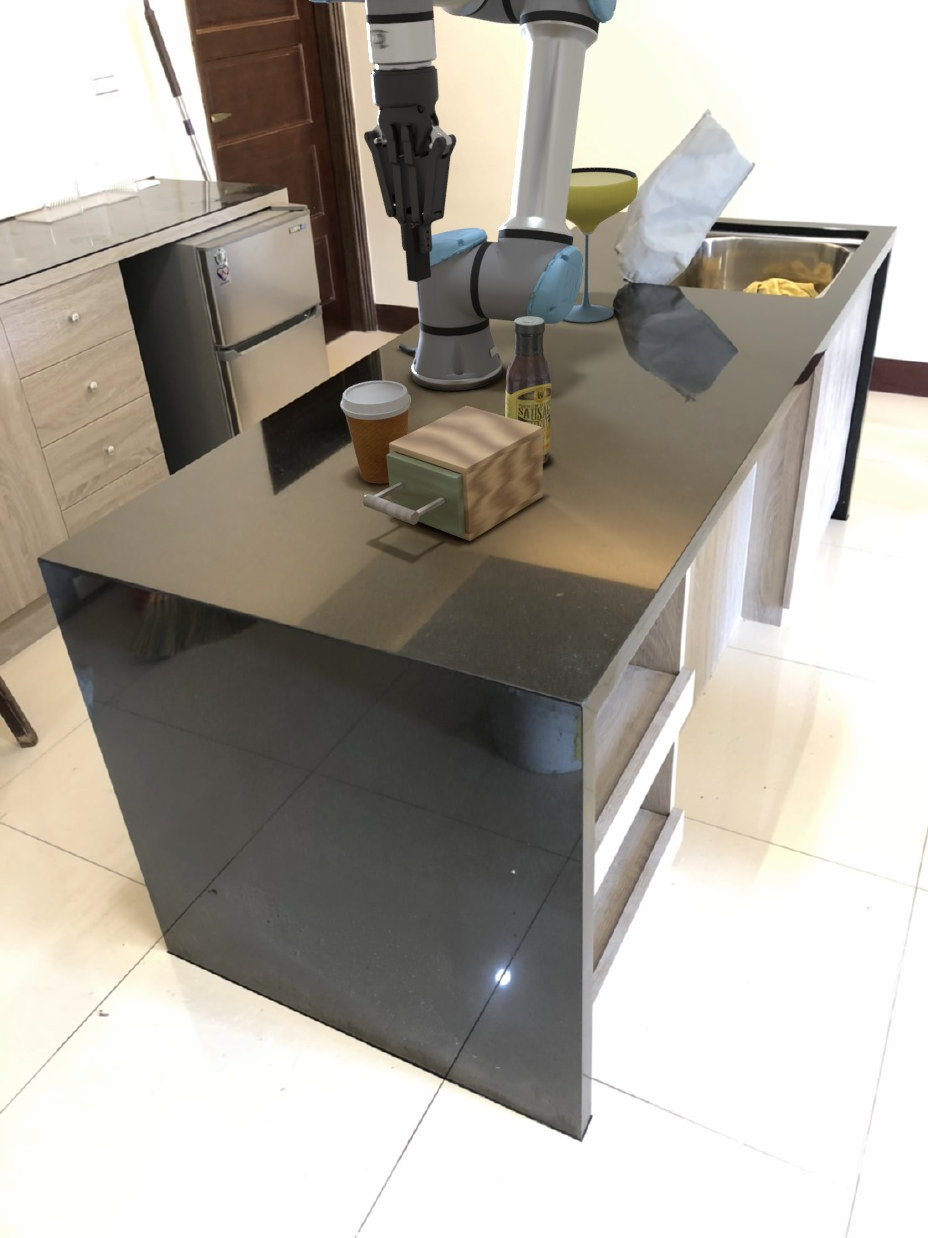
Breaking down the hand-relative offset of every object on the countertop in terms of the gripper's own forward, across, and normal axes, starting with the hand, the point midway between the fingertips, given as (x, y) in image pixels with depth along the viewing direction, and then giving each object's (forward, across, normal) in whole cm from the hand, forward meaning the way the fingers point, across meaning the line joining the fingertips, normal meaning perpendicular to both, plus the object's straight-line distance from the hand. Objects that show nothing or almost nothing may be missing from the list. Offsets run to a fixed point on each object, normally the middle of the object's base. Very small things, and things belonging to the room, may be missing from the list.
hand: (419, 278), depth 126 cm
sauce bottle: (+27, +9, +10) cm, 30 cm away
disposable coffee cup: (+27, -5, -5) cm, 28 cm away
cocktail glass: (+27, -23, +69) cm, 77 cm away
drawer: (+25, +11, -10) cm, 29 cm away
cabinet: (+26, +11, -5) cm, 29 cm away
